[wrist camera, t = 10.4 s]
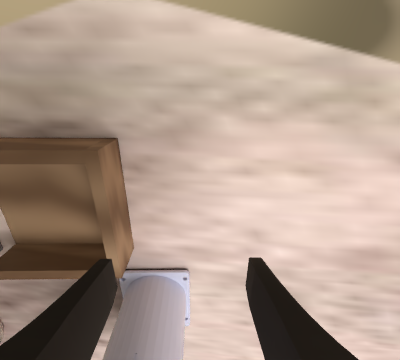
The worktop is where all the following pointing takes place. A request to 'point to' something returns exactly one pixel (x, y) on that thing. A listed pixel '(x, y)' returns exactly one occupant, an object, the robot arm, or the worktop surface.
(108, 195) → the walnut box
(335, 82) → the worktop surface
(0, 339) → the supplement can
